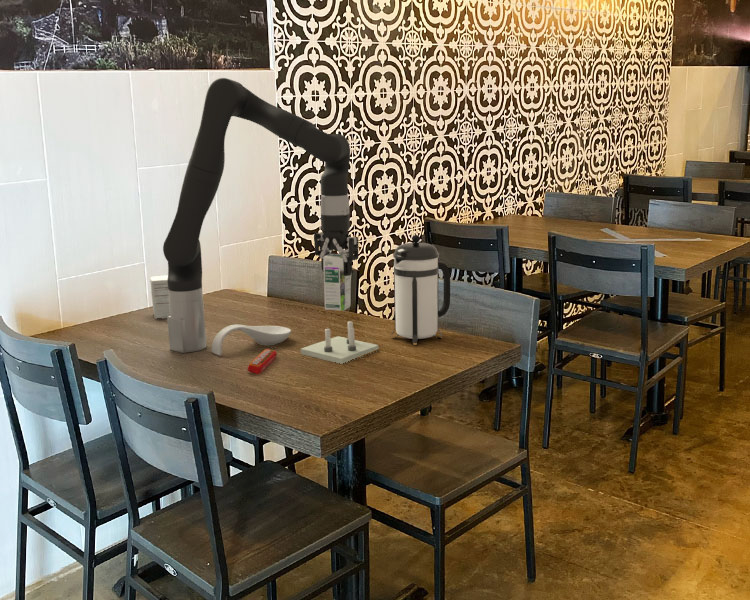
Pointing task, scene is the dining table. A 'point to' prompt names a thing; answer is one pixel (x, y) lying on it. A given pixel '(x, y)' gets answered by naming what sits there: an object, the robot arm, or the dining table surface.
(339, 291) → the syrup box
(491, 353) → the dining table surface
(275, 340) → the spoon rest
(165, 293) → the mini drawer cabinet
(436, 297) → the coffee press
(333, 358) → the pale green square stand
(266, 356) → the candy bar
